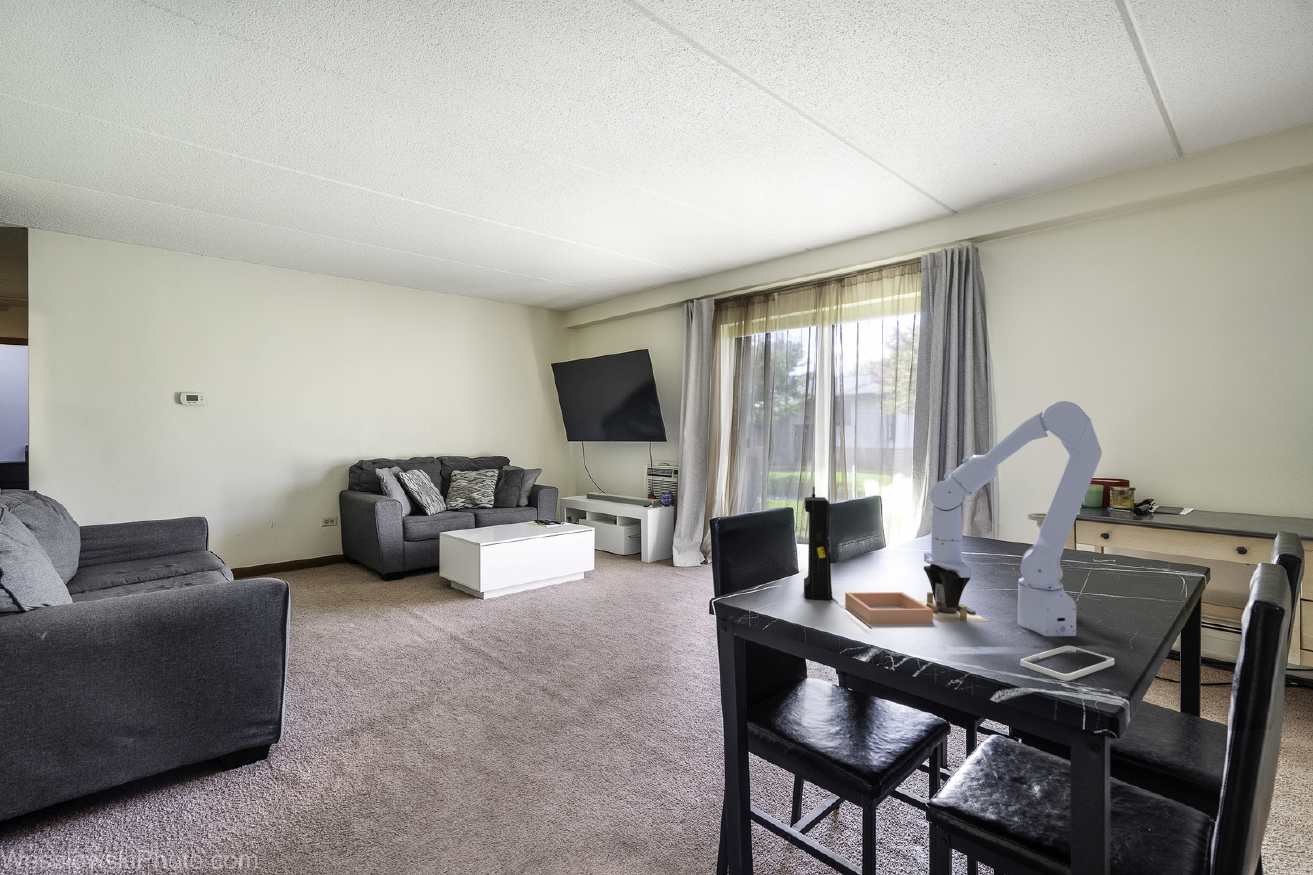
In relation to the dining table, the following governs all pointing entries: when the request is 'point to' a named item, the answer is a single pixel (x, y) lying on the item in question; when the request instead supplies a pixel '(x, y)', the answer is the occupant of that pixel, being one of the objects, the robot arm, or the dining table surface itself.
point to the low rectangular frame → (911, 614)
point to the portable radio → (818, 550)
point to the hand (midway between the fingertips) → (945, 604)
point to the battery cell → (942, 599)
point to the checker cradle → (960, 616)
